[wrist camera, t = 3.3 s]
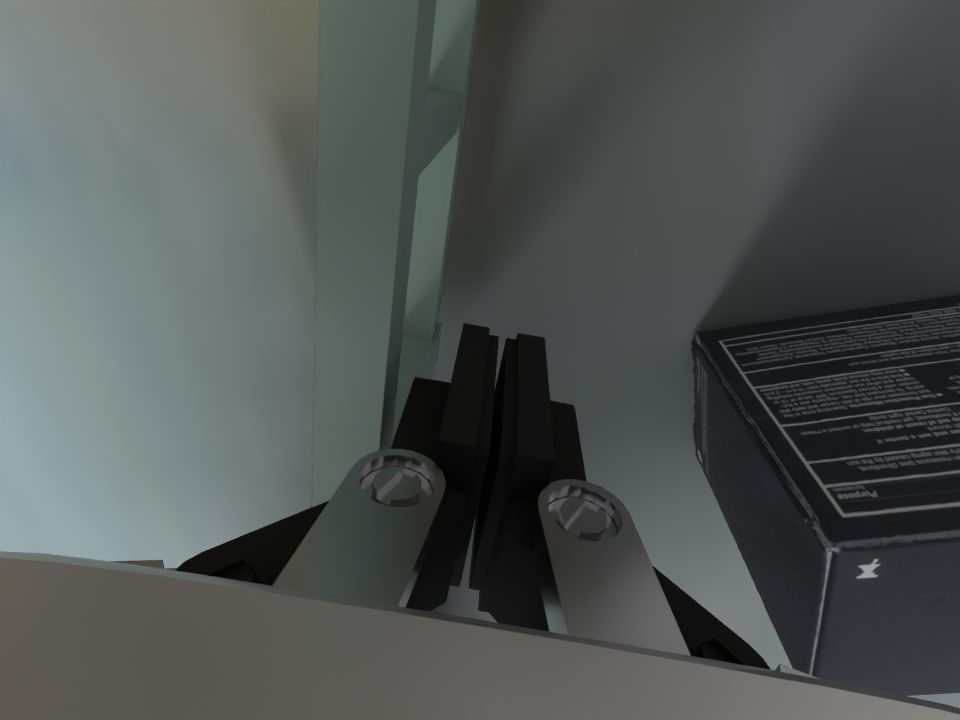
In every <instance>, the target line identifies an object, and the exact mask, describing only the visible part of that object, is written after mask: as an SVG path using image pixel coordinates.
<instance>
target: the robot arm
mask: <svg viewBox="0 0 960 720" xmlns="http://www.w3.org/2000/svg"><path fill="white" fill-rule="evenodd" d="M489 329H490V328H488V327H482V326H477V325H471V324H466V323H464V324H463V329H462V333H461V338H460V343H459V347H458V352H457V357H456V361H455V366H454V371H453V375H452V380H451V383H448V382H442V381H437V380H431V379H425V378H420V377H415V378H414V380H413V383H412V386H411V389H410V392H409V395H408V398H407V401H406V404H405V407H404V410H403V413H402V416H401V419H400V422H399V425H398V428H397V431H396V434H395V437H394V440H393V443H392V446H391V449H384V450H379V451H375V452H372V453H370V454H368V455H366V456H364V457H362V458H360V459H359V460H358V461H357V462H356V463H355V464H354V465H353V466H352V468H351V469H350V471H349V472H348V474H347V475H346V477H345V478H344V480H343V481H342V483H341V484H340V486H339V487H338V489H337V490H336V492H335V493H334V495H333V496H332V498H331V499H330V500H329V501H327V502H324V503H322V504H319V505H317V506H314V507H312V508H309V509H307V510H304V511H302V512H300V513H297V514H295V515H292V516H290V517H287V518H285V519H282V520H280V521H277V522H275V523H273V524H270V525H268V526H265V527H263V528H260V529H258V530H255V531H253V532H250V533H248V534H246V535H243V536H241V537H238V538H236V539H233V540H231V541H228V542H226V543H223V544H221V545H219V546H216V547H214V548H211V549H209V550H206V551H204V552H202V553H200V554H198V555H196V556H194V557H192V558H190V559H189V560H187V561H185V562H184V563H183V564H182V565H180V566H179V567H178V568H166V569H164V564H163V560H144V561H103V560H94V559H86V558H77V557H69V556H60V555H52V554H44V553H23V552H1V551H0V720H960V709H959V708H956V707H952V706H949V705H945V704H940V703H936V702H931V701H926V700H921V699H917V698H912V697H907V696H903V695H898V694H893V693H889V692H884V691H880V690H875V689H870V688H865V687H860V686H856V685H850V684H845V683H839V682H834V681H828V680H822V679H819V678H817V677H814V676H811V675H809V674H806V673H803V672H801V671H798V670H795V669H793V668H790V667H787V666H785V665H782V664H779V666H778V667H777V668H776V670H771V669H770V668H769V666H768V665H767V663H766V662H765V661H764V659H763V658H762V657H761V656H760V655H759V654H758V653H757V652H756V651H755V650H754V649H753V648H752V647H751V646H750V645H749V644H748V643H746V642H745V641H744V640H743V639H741V638H740V637H739V636H738V635H737V634H735V633H734V632H733V631H732V630H730V629H729V628H728V627H727V626H726V625H724V624H723V623H722V622H721V621H719V620H718V619H717V618H716V617H714V616H713V615H712V614H711V613H710V612H708V611H707V610H706V609H705V608H703V607H702V606H701V605H700V604H699V603H697V602H696V601H695V600H694V599H692V598H691V597H690V596H689V595H688V594H686V593H685V592H684V591H683V590H681V589H680V588H679V587H678V586H677V585H675V584H674V583H673V582H672V581H670V580H669V579H668V578H667V577H666V576H664V575H663V574H662V573H661V572H659V571H658V570H657V569H656V568H655V567H653V566H652V564H651V562H650V560H649V558H648V555H647V553H646V551H645V548H644V546H643V544H642V541H641V539H640V537H639V534H638V532H637V530H636V527H635V525H634V523H633V520H632V518H631V516H630V514H629V512H628V511H627V509H626V508H625V506H624V504H623V503H622V502H621V501H620V500H619V499H617V498H616V497H615V496H614V495H613V494H612V493H610V492H608V491H607V490H605V489H604V488H602V487H600V486H597V485H595V484H592V483H590V482H587V481H586V476H585V470H584V464H583V457H582V451H581V445H580V438H579V432H578V426H577V419H576V413H575V408H574V406H573V405H571V404H566V403H560V402H554V401H550V394H549V382H548V371H547V360H546V349H545V339H544V338H543V337H538V336H532V335H527V334H521V333H518V334H517V337H516V340H515V339H510V338H507V339H506V342H505V346H504V351H503V355H502V360H501V365H500V369H499V374H498V379H497V383H496V388H495V378H496V365H497V352H498V339H499V336H493V335H489ZM494 391H495V393H494ZM475 515H476V516H475ZM474 519H475V527H474V537H473V547H472V557H471V567H470V578H469V589H475V590H480V592H479V606H478V611H484V612H489V613H490V614H491V615H492V617H493V618H494V619H495V620H496V621H497V622H498V623H495V622H489V621H483V620H477V619H471V618H465V617H459V616H453V615H447V614H441V613H435V612H430V611H432V610H433V609H435V608H437V607H438V606H440V605H441V604H442V605H443V604H444V603H445V602H446V600H447V595H448V590H449V586H450V585H451V586H457V587H459V586H460V582H461V578H462V573H463V569H464V564H465V560H466V555H467V551H468V546H469V542H470V537H471V533H472V528H473V524H474Z"/></svg>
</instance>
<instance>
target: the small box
mask: <svg viewBox="0 0 960 720" xmlns="http://www.w3.org/2000/svg"><path fill="white" fill-rule="evenodd" d="M692 346H693V347H692V354H693V359H694V363H695V365H694V369H693V373H694V375H695V379H694V381H695V384H694V385H695V389H694V393H695V406H694V410H695V423H694V425H693V429H694V440H695V446H696V457H697V459H698V461H699V463H700V465H701V467H702V469H703V471H704V474H705V475H706V477H707V480H708V482H709V484H710V487H711V489H712V491H713V493H714V495H715V497H716V499H717V501H718V503H719V506H720V508H721V511H722V513H723V515H724V518H725V519H726V521H727V524H728V526H729V528H730V531H731V533H732V535H733V537H734V539H735V541H736V543H737V545H738V548H739V550H740V552H741V555H742V557H743V559H744V561H745V563H746V565H747V567H748V570H749V572H750V575H751V577H752V579H753V581H754V583H755V586H756V589H757V591H758V592H759V594H760V596H761V598H762V601H763V603H764V606H765V608H766V611H767V613H768V615H769V617H770V619H771V622H772V624H773V626H774V628H775V630H776V632H777V634H778V637H779V639H780V641H781V643H782V645H783V647H784V650H785V652H786V654H787V656H788V658H789V661H790V663H791V665H792V667H793V669H795V670H798V671H801V672H803V673H806V674H809V675H811V676H814V677H817V678H819V679H822V680H828V681H834V682H839V683H845V684H850V685H856V686H860V687H865V688H870V689H875V690H880V691H884V692H889V693H893V694H898V695H903V696H911V695H929V694H947V693H960V296H951V297H945V298H939V299H931V300H925V301H917V302H910V303H903V304H896V305H889V306H884V307H875V308H868V309H860V310H854V311H847V312H841V313H833V314H826V315H819V316H812V317H805V318H798V319H792V320H784V321H777V322H770V323H763V324H756V325H749V326H743V327H736V328H730V329H722V330H716V331H710V332H701V333H697V335H696V336H695V338H694V339H693V342H692Z"/></svg>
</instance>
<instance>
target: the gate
mask: <svg viewBox="0 0 960 720" xmlns="http://www.w3.org/2000/svg"><path fill="white" fill-rule="evenodd" d="M480 6H481V0H320V18H319V83H318V148H317V212H316V277H315V342H314V407H313V471H312V506H311V508H312V507H314V506H317V505H319V504H322V503H324V502H327V501H329V500H330V499H331V498H332V496H333V495H334V493H335V492H336V490H337V489H338V487H339V486H340V484H341V483H342V481H343V480H344V478H345V477H346V475H347V474H348V472H349V471H350V469H351V468H352V466H353V465H354V464H355V463H356V462H357V461H358V460H359V459H360V458H362V457H364V456H366V455H368V454H370V453H372V452H375V451H379V450H384V449H391V446H392V443H393V440H394V437H395V434H396V431H397V428H398V425H399V422H400V419H401V416H402V413H403V410H404V407H405V404H406V401H407V398H408V395H409V392H410V389H411V386H412V383H413V380H414V378H415V377H420V378H425V379H432V375H433V372H434V368H435V365H436V361H437V355H438V348H439V341H440V334H441V326H442V323H438V317H439V310H440V302H441V295H442V288H443V280H444V273H445V265H446V258H447V251H448V243H449V236H450V228H451V221H452V213H453V206H454V199H455V191H456V184H457V176H458V169H459V161H460V154H461V147H462V139H463V132H464V124H465V117H466V109H467V102H468V95H469V87H470V80H471V72H472V65H473V58H474V50H475V43H476V35H477V28H478V20H479V13H480Z"/></svg>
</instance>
